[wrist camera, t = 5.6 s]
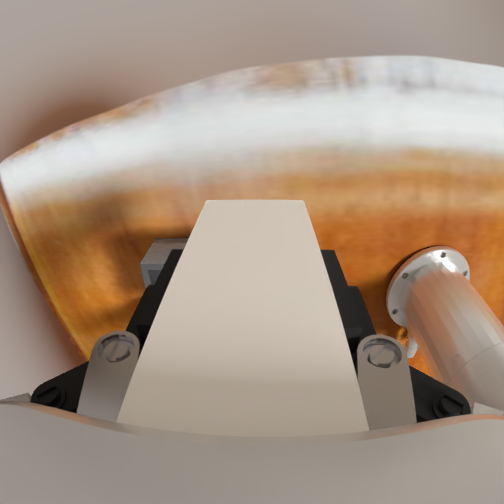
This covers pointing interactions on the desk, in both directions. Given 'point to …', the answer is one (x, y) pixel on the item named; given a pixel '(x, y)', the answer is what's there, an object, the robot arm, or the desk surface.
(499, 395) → the robot arm
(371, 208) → the desk surface
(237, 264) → the cream rectangular beam
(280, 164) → the desk surface
